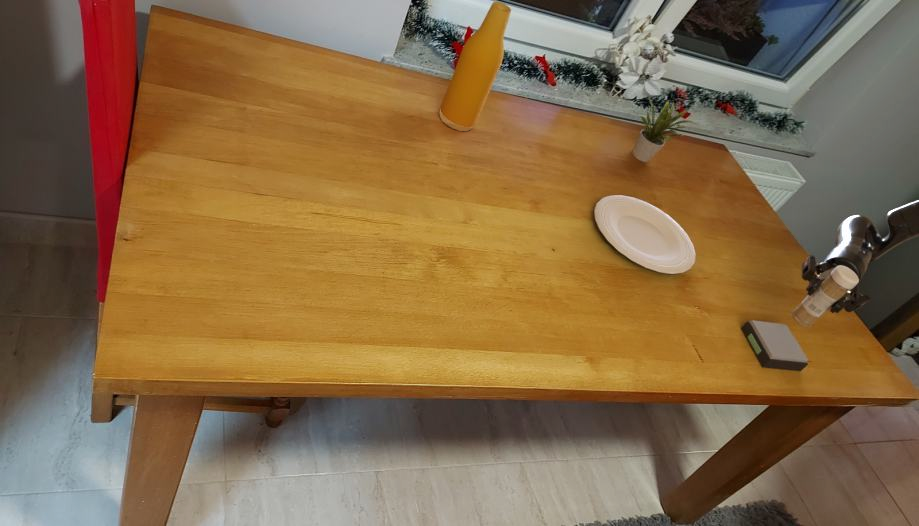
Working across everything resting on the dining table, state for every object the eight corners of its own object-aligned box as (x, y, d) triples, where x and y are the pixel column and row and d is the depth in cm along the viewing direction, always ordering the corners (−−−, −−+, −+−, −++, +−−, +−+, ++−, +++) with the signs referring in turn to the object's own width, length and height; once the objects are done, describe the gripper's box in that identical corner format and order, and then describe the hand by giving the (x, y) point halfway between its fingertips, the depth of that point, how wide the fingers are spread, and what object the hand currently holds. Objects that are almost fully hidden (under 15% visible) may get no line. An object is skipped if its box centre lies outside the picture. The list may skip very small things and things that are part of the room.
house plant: (676, 179, 178) (712, 128, 168) (633, 173, 173) (667, 120, 162) (654, 146, 187) (687, 96, 177) (612, 138, 182) (643, 86, 171)
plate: (694, 295, 144) (699, 289, 143) (587, 249, 142) (591, 243, 141) (688, 227, 163) (692, 221, 162) (593, 186, 161) (597, 180, 160)
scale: (777, 332, 145) (787, 323, 143) (800, 371, 138) (811, 362, 136) (739, 328, 141) (748, 318, 139) (761, 367, 135) (771, 357, 133)
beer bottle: (461, 108, 166) (506, -4, 147) (481, 131, 161) (530, 19, 143) (430, 109, 161) (473, -6, 142) (450, 134, 156) (497, 17, 137)
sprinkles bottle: (815, 324, 134) (864, 279, 125) (804, 331, 131) (853, 285, 122) (796, 307, 136) (843, 261, 127) (786, 313, 133) (833, 267, 125)
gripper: (826, 231, 138) (803, 262, 127) (889, 276, 134) (872, 312, 122) (801, 257, 143) (777, 289, 131) (862, 301, 139) (843, 338, 127)
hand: (823, 300), depth 127 cm, fingers closed on sprinkles bottle, 4 cm apart
